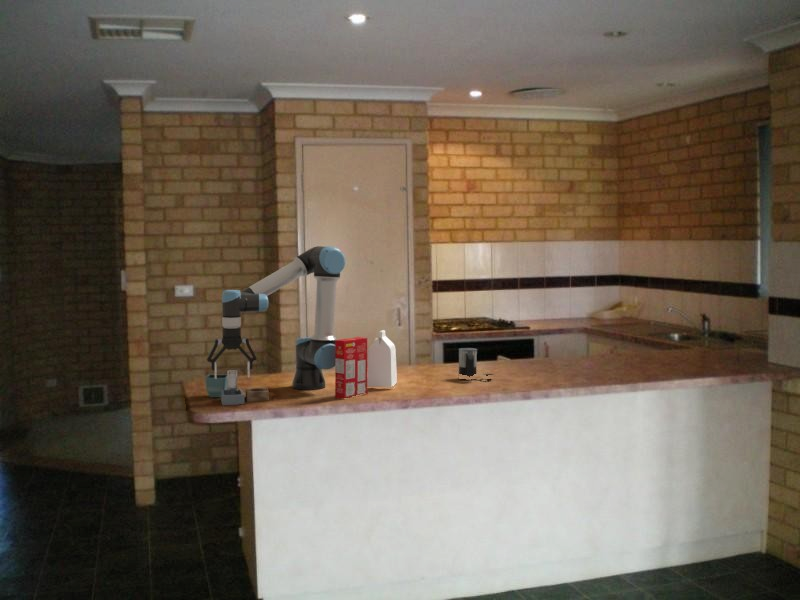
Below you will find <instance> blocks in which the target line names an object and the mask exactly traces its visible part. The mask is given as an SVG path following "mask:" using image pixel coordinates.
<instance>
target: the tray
mask: <svg viewBox="0 0 800 600" xmlns="http://www.w3.org/2000/svg"><path fill="white" fill-rule="evenodd" d="M220 402H221V405H222V406H236V405H237V406H238V405H239V404H242V405H245V393H244V391H243V388H237V395H228V389H226V390H221V398H220Z"/></svg>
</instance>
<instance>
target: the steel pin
mask: <svg viewBox="0 0 800 600" xmlns="http://www.w3.org/2000/svg"><path fill="white" fill-rule="evenodd" d="M226 375H227V380H228V385H227V390H228V395H237V389H238V370H235V369H233V370H227V374H226Z"/></svg>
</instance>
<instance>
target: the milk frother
mask: <svg viewBox="0 0 800 600" xmlns="http://www.w3.org/2000/svg"><path fill="white" fill-rule="evenodd" d="M477 354H478V348H473V347H461V348H458V375H459V374H462V375H467V376H469V377H470V376H473V375H474V374H477ZM484 375H486V376H488V375H494V374H492V373H487V374H486V373H485V374H484Z"/></svg>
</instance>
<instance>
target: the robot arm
mask: <svg viewBox="0 0 800 600" xmlns="http://www.w3.org/2000/svg"><path fill="white" fill-rule="evenodd" d="M345 266H346V258H345V255H344V252H342V251H341V249H339V248H338V247H334V246H321V245H320V246H314V247H311V248H309V249H307V250H306V251H304V252H302V253H301V254H299V255H297V256H295V257H294V258H293V261H292V262H289V263H288V264H286V265H285V266H283V267H281V268H279V269H278V270H276V271H274V272H273V273H270V274H268V275H267V276H266V277H264V278H262V279H260V280H258V281H257V282H255V283H253V284H252V285H250V286H248V287H246V288H244V289H243V290H241V291H240V289H239V290H238V289H226V290H224V291H222V297H221V305H222V307H221V308H222V310H221V313H222V321H221V323H222V324H221V325H222V327H223V328H222V339H218V338H215V339H214V344H213V346H212V349H211V350H210V353H209V355H208V356H207V357H206V358H207V359H206V360H207V362H209V363H211V371H214V375H215V379H217V375H218V374H217V373H218V371H217V368H218V367H217V361H218V359H219V358H220V357H221V356H222V354H223V353H224V352H225V351H226V350H228V351H229V350H233V351H234V350H237V349H238V350H239V351H240V352H241V353H242V354H243V355H244V357H245V358H246V359H247V360H248V361H246V363H247V369H246V370H247V378H249V379H250V378H251V370H253V362H254V361H256V360H257V359H258V358H257V356H256V354H255V352H254V351H253V348H252V347H251V344H250V341H249V338H248V337H245V338H242V328H241V326H242V319H241V318H242V315H241V314H242V313H255V312H257V313H258V312H260V313H261V312H265V311H267V310H268V308H269V298H268V296H270V295H271V294H273V293H275V292H277V291H279V290H280V289H281V288H284V287H285V286H287V285H289V284H290V283H293V282H294V281H296V280H297V279H299V278H300V277H301V278H302V277H307V276H309V275H310V274H313V278H315V279H316V290H315V291H316V292H315V293H316V295H315V309H314V310H315V312H314V331H313V332H314V333H313V335H311V336H309V337H299V338H296V341H295V373H294V376H293V379H292V382H291V383H292V384H291V385H292V388H293V389H295V390H307V391H308V390H309V391H310V390H321V389H323V388H326V380H325V376H324V374H323V370H331V369H333V368H334V367H335V340H338V339H337V337H336V336H335V335H334V332H335V329H334V328H335V315H336V314H335V311H336V296H337V295H336V294H337V282H338V280H339V279H341V272H342V271H343V270H344V268H345ZM242 343H243V344H245V345H246V347H247V349H248V351H249V353H250V354H251V355H249V354H248V353H247V352H246V351H245V350H244V349H243V347H242V346H241V344H242ZM220 344H222V347H221V348H220V349H219V350H218V352H217V353H216V354H215V352H216V350H217V348H218V345H220ZM214 355H215V356H214ZM213 356H214V357H213Z"/></svg>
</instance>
